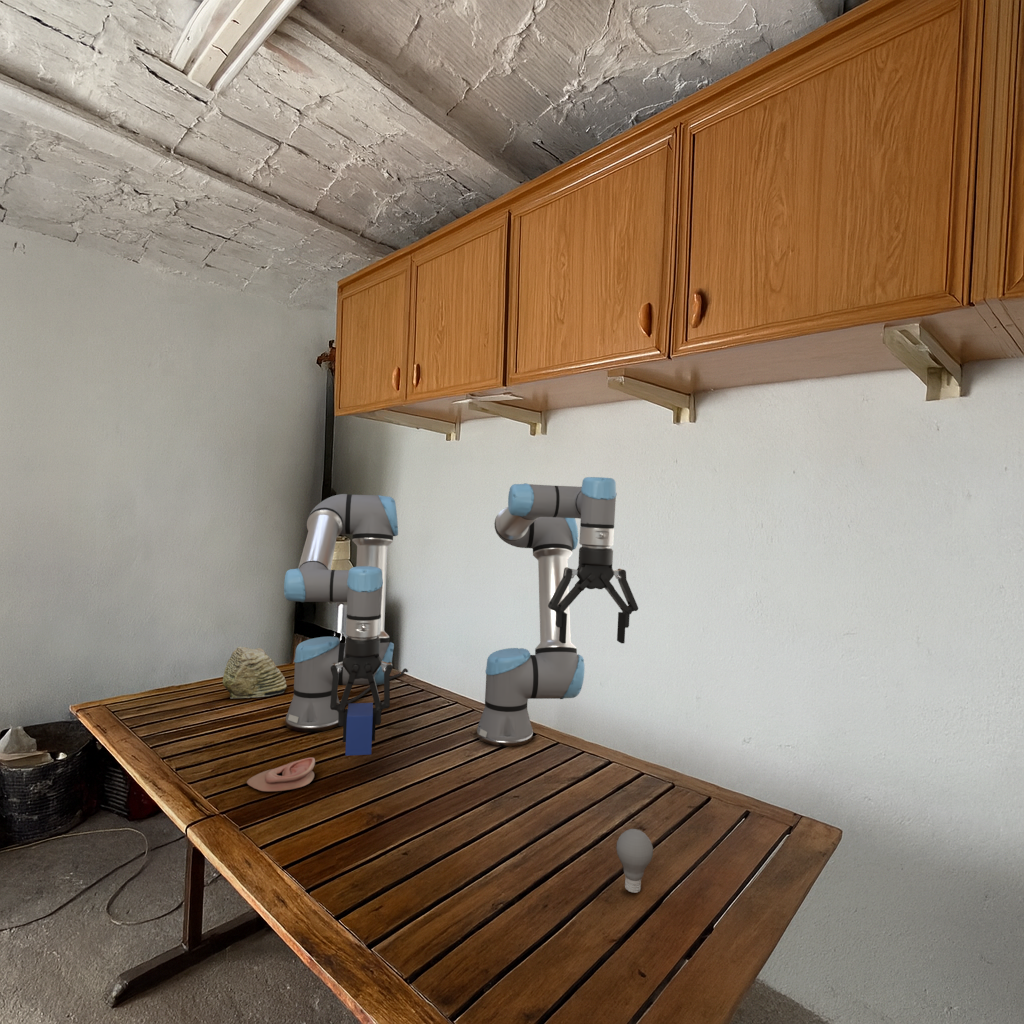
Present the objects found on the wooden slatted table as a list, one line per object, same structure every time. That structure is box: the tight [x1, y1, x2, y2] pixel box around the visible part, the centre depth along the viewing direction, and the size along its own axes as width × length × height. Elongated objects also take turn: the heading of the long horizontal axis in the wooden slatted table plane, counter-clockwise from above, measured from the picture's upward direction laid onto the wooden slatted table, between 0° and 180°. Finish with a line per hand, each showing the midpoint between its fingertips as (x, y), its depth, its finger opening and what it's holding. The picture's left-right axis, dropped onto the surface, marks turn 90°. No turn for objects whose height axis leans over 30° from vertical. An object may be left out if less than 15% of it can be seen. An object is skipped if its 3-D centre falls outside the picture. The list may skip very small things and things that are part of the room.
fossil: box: [222, 646, 288, 699], centre depth 198 cm, size 9×18×15 cm, turn 132°
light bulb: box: [615, 828, 654, 894], centre depth 106 cm, size 6×6×10 cm
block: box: [344, 702, 374, 757], centre depth 142 cm, size 8×6×9 cm, turn 12°
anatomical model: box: [246, 757, 316, 792], centre depth 140 cm, size 13×4×12 cm
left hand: (359, 739), depth 142 cm, fingers closed on block, 5 cm apart
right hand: (591, 642), depth 141 cm, fingers open, 13 cm apart
